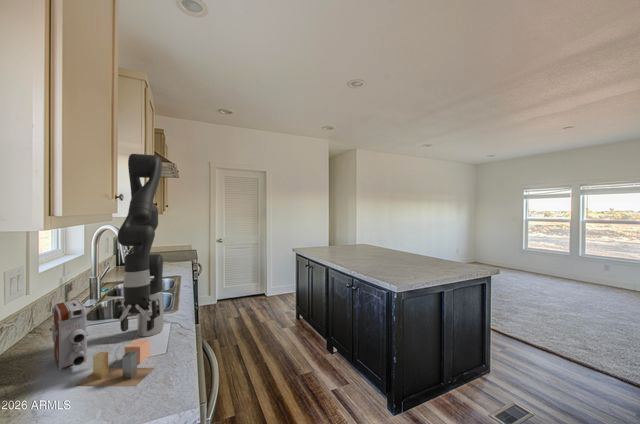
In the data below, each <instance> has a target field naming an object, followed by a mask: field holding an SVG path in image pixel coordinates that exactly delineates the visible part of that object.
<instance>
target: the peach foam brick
mask: <svg viewBox="0 0 640 424" xmlns="http://www.w3.org/2000/svg"><path fill="white" fill-rule="evenodd" d="M128 352H137V365H141V364H143V362H144V361H145V360H146V359H148V357H150V356H151V340H150V339H134V340H132V341H131V342H130V343H128V344H127V345H126V346H124V355H125V354H126V353H128Z"/></svg>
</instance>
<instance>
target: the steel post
mask: <svg viewBox="0 0 640 424" xmlns="http://www.w3.org/2000/svg"><path fill="white" fill-rule="evenodd" d="M121 361H122V368H123V379H132V378H133V377H134V376H135V375H136V374H137V368H138V364H137V352H128V353H126V354H125V353H124V355H122V360H121Z"/></svg>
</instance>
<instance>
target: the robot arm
mask: <svg viewBox="0 0 640 424" xmlns="http://www.w3.org/2000/svg"><path fill="white" fill-rule="evenodd" d="M127 160H128V161H127V166H128V167H127V168H128V176H129V177H128V178H129V184H130V197H131V199H130V201H129V206H128V212H127V215H126V217H125V219H124V221H123V223H122V224H121V226H120V228H119V230H118V232H117V235H116V239H117V242H118V243H119V245H120V246H122V247H132V252H131V253H127V254H126V255H125V256H124V275H123V299H119V300H116V301H115V302H114V311H113V319H114V320H119V321H120V330H121V332H122V333H123V332H127V331H128V329H129V316H130V315H134V314H136V316H137V318H136V320H137V336H139V337H151V336H154V335H157V334H160V333H161V332H162V331H163V330H164V327H165V326H164V321H165V320H164V316H165V315H164V306H163V305H164V304H163V303H164V302H163V300H164V299H163V298H164V297H163V289H164V288H163V287H164V286H163V271H164V268H163V267H164V258H163V256H162V254H159V253H154V254H150V253H151V250H152V249H151V248H152V246H153V242H154V241H155V240H154V239H155V236H156V230H157V228H158V226H159V209H158V207H157V206H156V204H155V203H154V199H155V195H156V193H157V189H158V186H159V182H160V180H161V176H162V169H163V166H162V165H163V164H162V160H161V158H160V156H158V155H154V154H144V153H143V154H140V153H131V154H130V155H128V159H127ZM141 178H147V179H148V180H147V181H146V183H145V184H142V181H141ZM151 277H153V279H151ZM124 307H125V309H124Z"/></svg>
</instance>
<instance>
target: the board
mask: <svg viewBox="0 0 640 424" xmlns="http://www.w3.org/2000/svg"><path fill="white" fill-rule="evenodd" d="M154 370H155V367H137V374H136V375H135V376H134V377H133V378H132V379H123V367H108V375H106V376H105V377H104V378H102V379H93V372H92V373H91V374H89V375H88V376H86V377H85V378H83V379H82V380H81V381H80V382H78V383H77V384H76V385H75V387H137V386H138V385H139V384H140V383H141V382H142V381H143V380H145V378H147V376H148V375H150V373H152V372H153V371H154Z"/></svg>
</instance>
